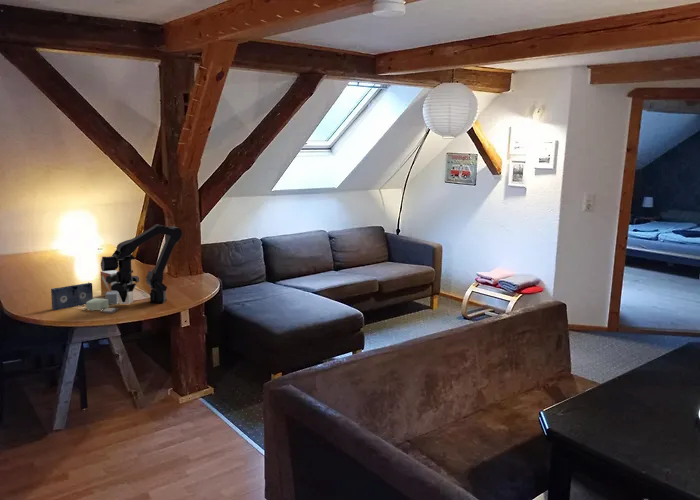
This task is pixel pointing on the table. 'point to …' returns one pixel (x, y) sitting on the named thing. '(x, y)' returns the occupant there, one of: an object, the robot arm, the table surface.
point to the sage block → (97, 304)
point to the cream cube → (127, 298)
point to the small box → (104, 285)
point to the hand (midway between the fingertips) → (126, 300)
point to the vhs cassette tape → (71, 296)
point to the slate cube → (112, 297)
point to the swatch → (109, 310)
